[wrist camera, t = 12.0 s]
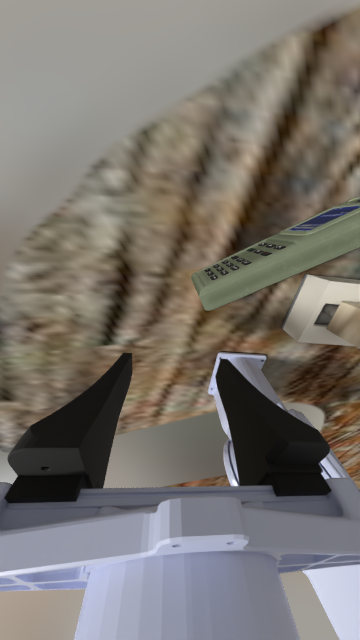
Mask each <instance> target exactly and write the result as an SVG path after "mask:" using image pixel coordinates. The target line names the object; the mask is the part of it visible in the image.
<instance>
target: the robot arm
mask: <svg viewBox="0 0 360 640" xmlns="http://www.w3.org/2000/svg"><path fill="white" fill-rule="evenodd" d="M220 357H221V358H220ZM265 360H266V356H265V355H260V354H244V353H228V352H220V353H218V356H217V359H216V363H215V367H214V370H213V374H212V378H211V381H210V385H209V389H208V394H213V395H214V398H215V402H216V406H217V410H218V413H219V417H220V421H221V425H222V427H223V429H224V431H225V433H226V434H227V435H228V436H229V440H227V441H226V442H225V445H224V465H225V469H226V473H227V476H228V479H229V482H230V484H231V486H214V487H158V488H108V489H107V488H105V489H104V488H103V485H104V481H105V475H106V471H107V466H108V462H109V457H110V452H111V448H112V444H113V439H114V435H115V431H116V427H117V422H118V418H119V415H120V412H121V409H122V406H123V403H124V400H125V397H126V394H127V391H128V388H129V385H130V381H131V376H132V353H123V354H122V355H121V356H120V358H119V359H118V360H117V361H116V362H115V363H114V364H113V366H112V367H111V368H110V369H109V370H108V371H107V372H106V373H105V374H104V375H103V376H102V377H101V378H100V379H99V380H98V381H97V382H95V383H94V384H93V385H92V386H91V387H90V388H88V389H87V390H86V391H85V392H83V393H82V394H81V395H79V396H78V397H77V398H75V399H74V400H73V401H71V402H70V403H68V404H67V405H65V406H64V407H62V408H61V409H59V410H57V411H56V412H54V413H52V414H51V415H49V416H47V417H45V418H44V419H42V420H40V421H38V422H37V423H35V424H33V425H31V426H30V428H29V429H28V430H27V431H26V432H25V433H24V435H23V436H22V437H21V439H20V440H19V441H18V443H17V444H16V445H15V447H14V448H13V450H12V451H11V452H10V454H9V455H8V462H9V464H10V466H11V467H12V468H13V470H14V471H15V472H16V473H17V475H18V477H17V478H16V480H15V482H14V483H13V485H12V484H10V483H5V482H0V591H30V590H64V589H86V591H85V596H84V600H83V604H82V608H81V612H80V616H79V621H78V625H77V629H76V633H75V637H74V640H300V638H299V635H298V631H297V629H296V625H295V622H294V619H293V616H292V613H291V609H290V606H289V603H288V600H287V597H286V594H285V590H284V587H283V584H282V581H281V578H280V575H279V574H280V573H288V572H296V571H302V572H304V573H305V574H306V575H307V576H308V578H309V580H310V582H311V584H312V586H313V588H314V590H315V592H316V593H317V596H318V598H319V600H320V602H321V603H322V605H323V607H324V609H325V611H326V613H327V615H328V617H329V619H330V621H331V623H332V625H333V627H334V629H335V631H336V633H337V635H338V637H339V639H340V640H360V490H359V489H358V487H357V486H356V484H355V483H354V481H353V480H352V479H351V478H350V476H349V475H348V473H347V471H346V470H345V468H344V467H343V465H342V464H341V462H340V461H339V460H338V458H337V457H336V455H335V454H334V453H333V451H332V450H331V449H330V446H329V445H328V443H327V442H326V440H325V439H324V438H323V436H322V435H321V434H320V432H319V431H318V430H317V429H315V428H314V426H312V424H311V423H310V421H309V420H308V419H307V418H306V417H305V416H304V414H302V413H301V412H299V411H296V410H294V409H290V410H289V411H288V410H287V409H286V408H285V406H284V405H283V403H282V402H281V400H280V399H279V397H278V396H277V394H276V392H275V391H274V389H273V388H272V386H271V385H270V383H269V382H268V380H267V379H266V377H265V376H264V374H263V373H262V371H261V369H262V367H263V365H264V363H265Z"/></svg>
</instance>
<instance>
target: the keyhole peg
mask: <svg viewBox="0 0 360 640" xmlns="http://www.w3.org/2000/svg"><path fill="white" fill-rule="evenodd" d="M315 322H317V323H327V322H330V323H329V325H328V327H327V328H326V329H327V330H328V331H330V332H332V333H334V334H335V335H337V336H339V337H340V338H342V339H344V340H345V341H347V342H349V343H350V344H352V345H354V346H356V347H357V348H359V349H360V303H349V302H341V303H340V305H338V304H327V303H325V305H324V306H323V308H322V310H321V312H320V314H319V315H318V317H317V319H316V321H315Z"/></svg>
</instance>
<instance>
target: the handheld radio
mask: <svg viewBox="0 0 360 640" xmlns="http://www.w3.org/2000/svg"><path fill="white" fill-rule="evenodd" d="M359 247H360V197H355V198H353V199H351V200H349V201H346V202H344V203H342V204H340V205H338V206H333V207H332V208H330V209H327V210H325V211H323V212H321V213H319V214H317V215H315V216H313V217H310V218H308V219H306V220H304V221H302V222H300V223H298V224H296V225H293V226H291V227H289V228H287V229H285V230H282V231H281V232H280V233H278V234H275V235H273V236H271V237H269V238H267V239H265V240H263V241H261V242H259V243H256V244H254V245H252V246H250V247H248V248H246V249H244V250H242V251H240V252H237V253H235V254H233V255H231V256H229V257H227V258H225V259H223V260H221V261H219V262H216V263H214V264H212V265H210V266H208V267H206V268H204V269H202V270H200V271H198V272H195V273H193V274H192V277H191V279H192V281H193V284H194V286H195V288H196V290H197V293H198V295H199V297H200V300H201V302H202V304H203V306H204V309H205V310H206V311H209V310H214V309H216V308H219V307H221V306H223V305H226V304H228V303H231V302H233V301H235V300H238V299H240V298H242V297H245V296H247V295H249V294H252V293H254V292H256V291H258V290H260V289H262V288H265V287H267V286H270V285H272V284H274V283H277V282H279V281H281V280H284V279H286V278H288V277H291V276H293V275H296V274H298V273H300V272H303V271H305V270H307V269H310V268H312V267H314V266H317V265H319V264H322V263H324V262H326V261H329V260H331V259H333V258H336V257H338V256H340V255H343V254H345V253H348V252H350V251H352V250H355V249H357V248H359Z"/></svg>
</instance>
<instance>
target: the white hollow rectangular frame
mask: <svg viewBox="0 0 360 640" xmlns="http://www.w3.org/2000/svg"><path fill="white" fill-rule="evenodd" d="M341 302H349V303H360V280H358V279H348V278H339V277H330V276H321V275H312V274H305V276H304V278H303V280H302V283H301V285H300V287H299V289H298V291H297V294H296V296H295V298H294V300H293V302H292V305H291V307H290V309H289V311H288V313H287V316H286V318H285V320H284V322H283V325H282V327H281V328H282V329H283V330H284V331H285V332H287V333H288V334H289V335H290V336H291V337H292V338H294V339H295V340H296V341H297V342H303V343H317V344H332V345H346V346H354V345H352V344H350V343H349V342H347V341H345V340H344V339H342V338H340V337H339V336H337V335H335V334H334V333H332V332H330V331H328V330H327V329H326V328H327V327H328V325H329V323H330V322H327V323H317V322H315V321H316V319H317V317H318V315H319V314H320V312H321V310H322V308H323V306H324V305H325V303H327V304H338V305H340V303H341Z"/></svg>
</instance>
